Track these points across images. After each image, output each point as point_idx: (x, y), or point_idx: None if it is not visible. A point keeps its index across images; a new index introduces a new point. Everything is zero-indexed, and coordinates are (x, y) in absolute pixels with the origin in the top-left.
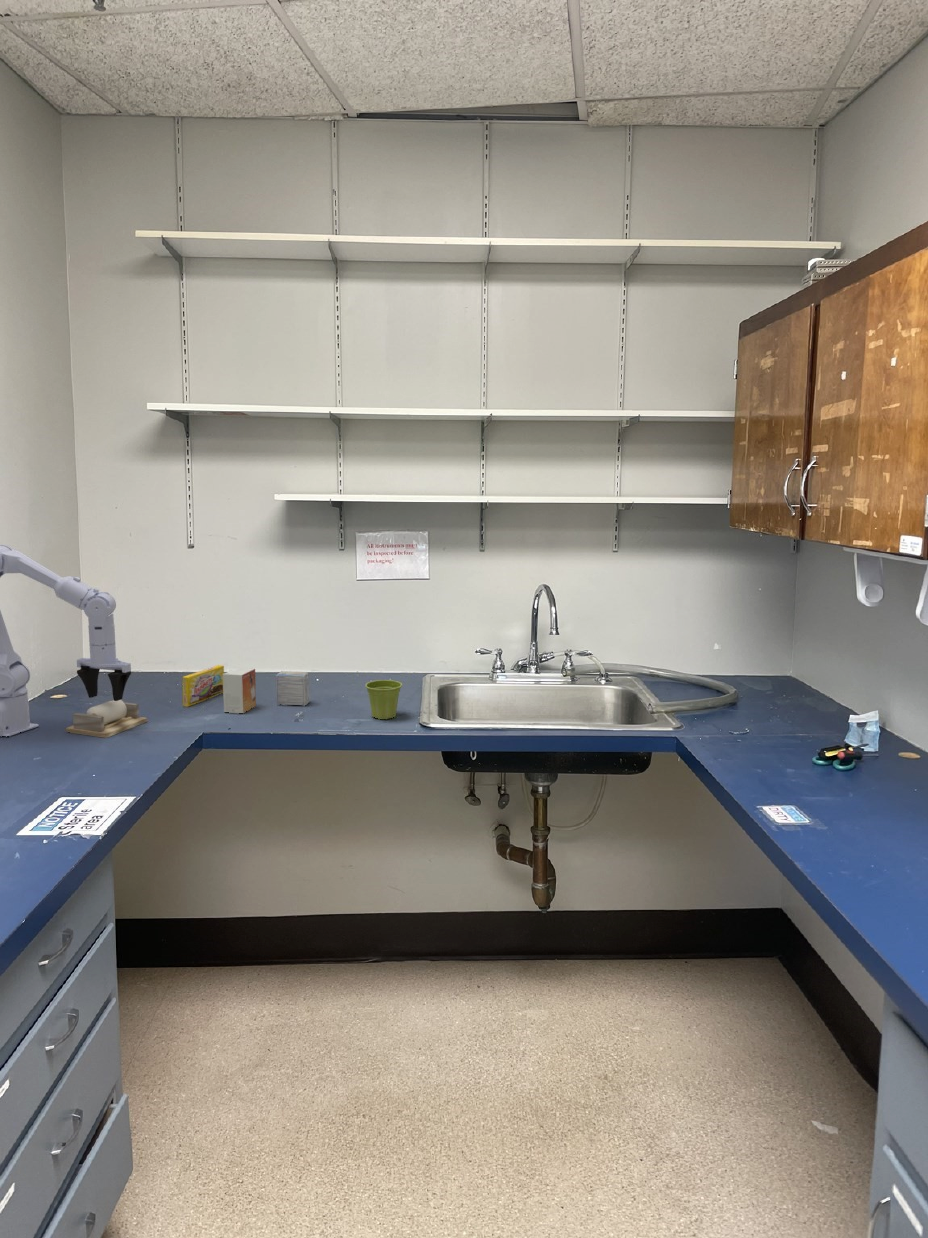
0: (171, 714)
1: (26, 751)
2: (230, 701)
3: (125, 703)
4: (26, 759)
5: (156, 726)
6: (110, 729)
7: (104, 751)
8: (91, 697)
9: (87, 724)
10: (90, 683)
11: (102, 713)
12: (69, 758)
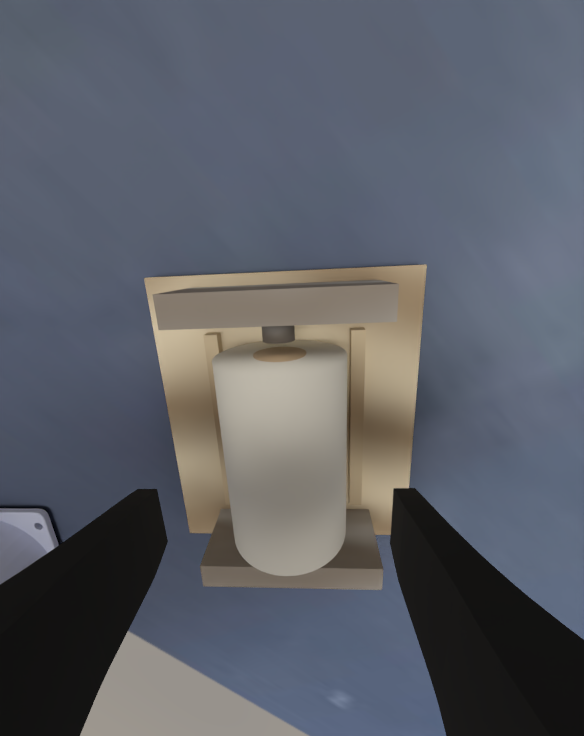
0: (468, 43)
1: (259, 673)
2: None
3: (294, 312)
4: (318, 710)
5: (519, 311)
6: (380, 488)
7: None
8: (165, 536)
9: None
10: (85, 664)
11: (341, 541)
12: (431, 681)
